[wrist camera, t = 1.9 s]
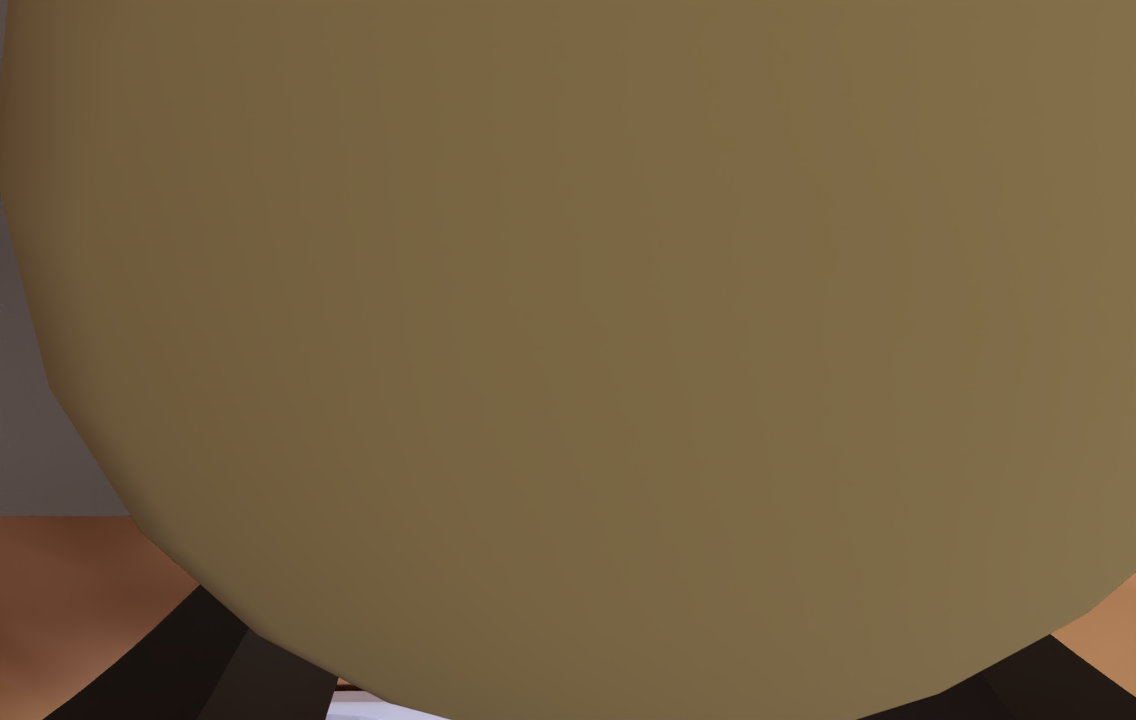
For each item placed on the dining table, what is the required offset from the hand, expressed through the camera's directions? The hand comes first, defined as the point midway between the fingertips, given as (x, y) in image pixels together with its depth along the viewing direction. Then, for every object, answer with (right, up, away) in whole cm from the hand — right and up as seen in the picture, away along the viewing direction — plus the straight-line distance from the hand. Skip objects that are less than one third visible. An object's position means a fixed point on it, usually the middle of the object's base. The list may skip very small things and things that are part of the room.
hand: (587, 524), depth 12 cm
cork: (0, +8, 0) cm, 8 cm away
